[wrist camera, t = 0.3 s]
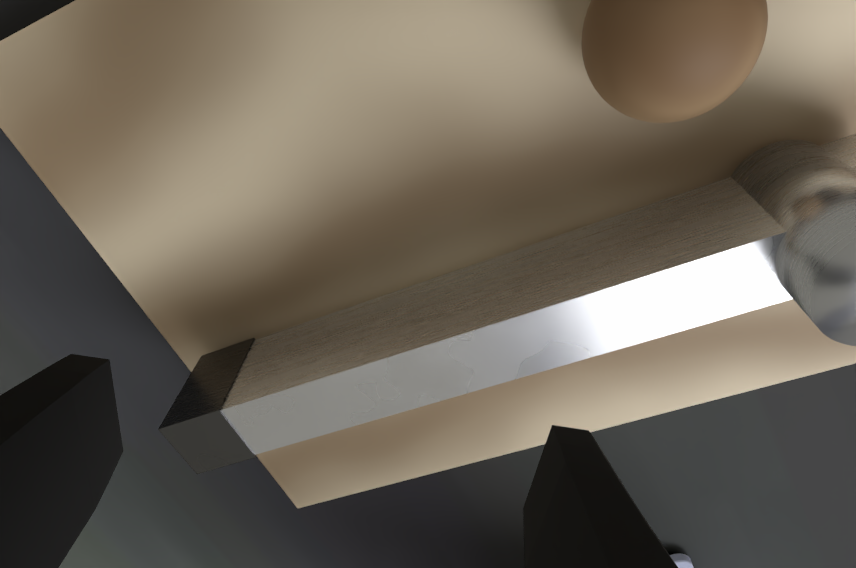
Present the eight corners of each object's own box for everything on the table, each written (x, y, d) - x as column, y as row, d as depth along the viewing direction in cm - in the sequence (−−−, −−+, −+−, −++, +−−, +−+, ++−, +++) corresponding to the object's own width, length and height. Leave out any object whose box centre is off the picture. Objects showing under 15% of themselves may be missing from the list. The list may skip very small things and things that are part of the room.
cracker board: (1006, 293, 19) (1037, 316, 18) (304, 484, 25) (297, 508, 24) (1049, -518, 11) (1111, -563, 10) (-16, 57, 17) (-47, 67, 16)
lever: (857, 112, 15) (1009, 189, 11) (864, 210, 16) (1003, 313, 12) (193, 345, 20) (121, 461, 15) (240, 406, 21) (186, 529, 17)
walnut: (739, 64, 15) (812, 104, 12) (592, 120, 16) (624, 172, 13) (713, -98, 13) (789, -100, 10) (550, -25, 14) (575, -7, 11)
